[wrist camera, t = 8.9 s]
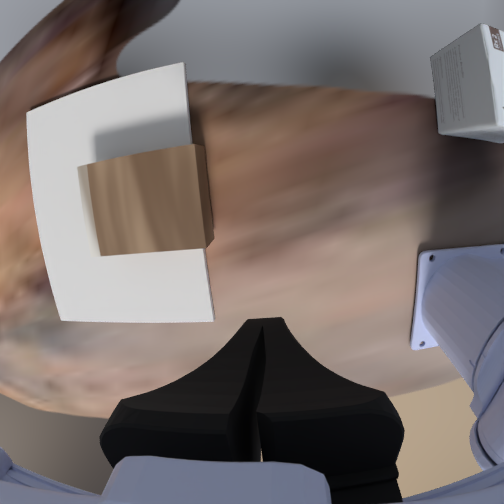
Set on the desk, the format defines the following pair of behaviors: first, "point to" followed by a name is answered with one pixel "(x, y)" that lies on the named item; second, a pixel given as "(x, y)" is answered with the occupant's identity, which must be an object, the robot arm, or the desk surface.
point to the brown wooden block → (147, 202)
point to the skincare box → (471, 85)
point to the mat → (70, 206)
